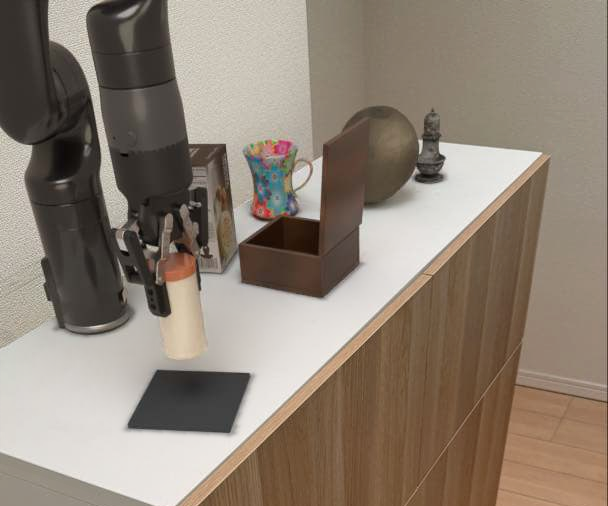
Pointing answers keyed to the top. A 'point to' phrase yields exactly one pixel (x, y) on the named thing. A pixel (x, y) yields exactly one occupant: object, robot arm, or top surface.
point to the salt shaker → (430, 151)
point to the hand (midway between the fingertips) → (176, 302)
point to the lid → (343, 184)
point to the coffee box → (215, 205)
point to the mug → (273, 177)
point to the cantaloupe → (387, 151)
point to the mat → (190, 401)
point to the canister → (182, 309)
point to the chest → (296, 257)
